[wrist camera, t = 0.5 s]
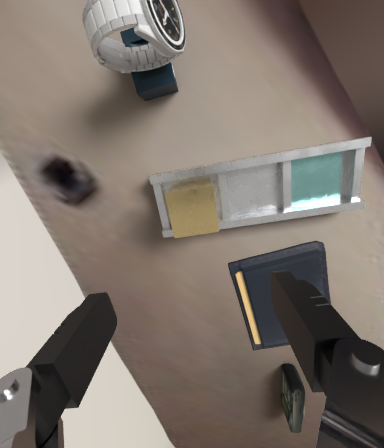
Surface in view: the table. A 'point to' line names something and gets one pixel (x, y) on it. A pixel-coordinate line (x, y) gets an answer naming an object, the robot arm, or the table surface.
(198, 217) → the tan block
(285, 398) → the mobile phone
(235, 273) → the dark blue notebook
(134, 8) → the watch
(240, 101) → the table surface
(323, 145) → the tray with compartments
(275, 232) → the table surface
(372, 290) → the table surface
